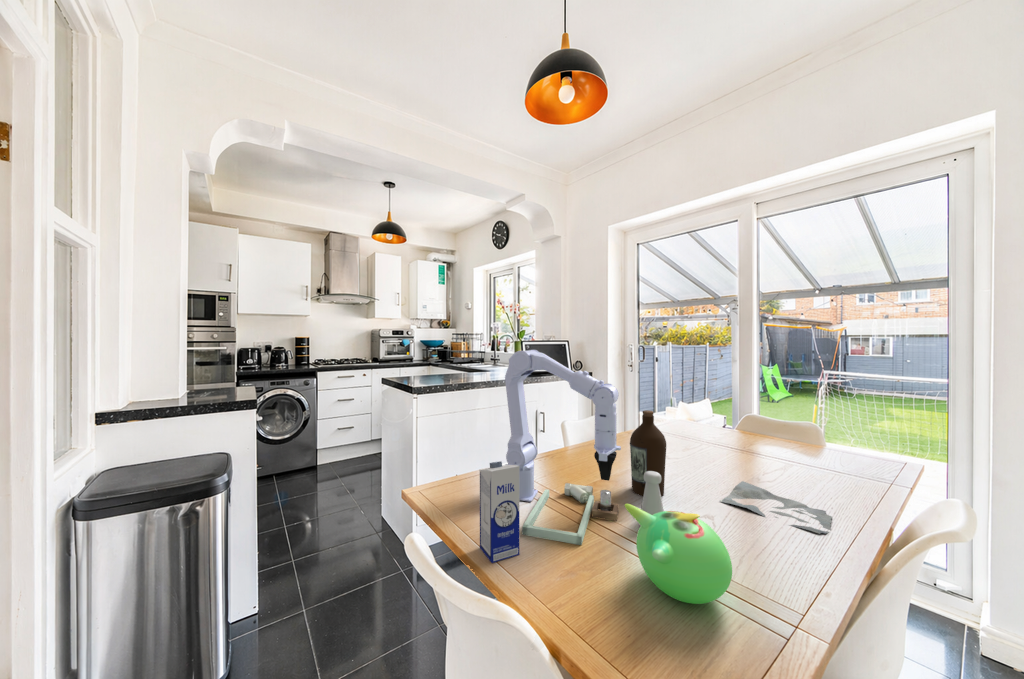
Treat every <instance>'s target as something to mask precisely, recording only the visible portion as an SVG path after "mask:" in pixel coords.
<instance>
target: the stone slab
mask: <svg viewBox="0 0 1024 679" xmlns="http://www.w3.org/2000/svg"><path fill="white" fill-rule="evenodd" d="M733 499H734V500H733ZM735 499H736V500H747V499H749V500H761V501H762V500H763V501H766V500H771V501H772V500H773V501H776V502H780V503H782V504H783V506H775V507H774V506H772V507H771V508H773V509H776V510H777V509H778V510H785V509H786V510H789V509H792V510H791V512H795V513H796V514H797V513H798V514H801V515H807V516H808V517H809V518H811V519H813V520H815V521H818V522H819V525H821V527H822V528H823V529H826V531H825V530H821V529H817V528H814V527H812V526H804V525H798V524H789V526H790V527H794V528H799V529H803V530H807V531H810V532H813V533H816V534H819V535H820V534H829V532H830V531H832V528H831V526H832V524H831V523H832V521H833V520H832V518H833V516H832V515H829V514H827V510H824V509H823V510H822V509H818V508H812V507H809V506H808V505H806V504H805V503H802V502H800V501H797V500H794V499H791V498H786V497H782V496H779V495H776V494H773V493H772V492H771V491H769V490H766V489H764V488H762V487H760V486H757V485H755V484H751V483H749V482H747V481H744V480H742V481H740V482H739V483H738V484H737V485H735V486H734V487H733V489H732V490H731V492H729V495H727V496H725V497H724V498H722V499H721V500H719V502H721V503H725V504H731V505H733V506H734V505H735V506H737V507H742V508H746V509H748V510H750V511H752V512H754V513H757V514H758V515H760V516H762V517H764V518H766V514H764V513H763V512H762V510H760V508H759V507H758V506H756V505H752V504H743V503H740V502H737V501H736V500H735ZM797 509H798V510H797ZM776 510H768V512H769V513H773V514H776V515H778V516H781V517H787V518H792V519H795V520H797V521H798V522H801V523H806V524H810V522H809V521H806V520H805V519H802V518H799V517H797V516H794V515H793V514H790V513H787V512H783V511H776ZM807 513H808V514H807ZM809 514H811V515H813V516H811V515H809ZM778 516H775V518H776V519H779V517H778ZM827 530H828V531H827Z"/></svg>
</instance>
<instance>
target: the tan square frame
mask: <svg viewBox="0 0 1024 679" xmlns="http://www.w3.org/2000/svg"><path fill="white" fill-rule="evenodd" d="M618 516H619V503H614V502H611V511H605V510H600V501H599V500H594V504H593V507H592V511H591V518H593V519H603V520H607V521H614V522H618Z"/></svg>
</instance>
